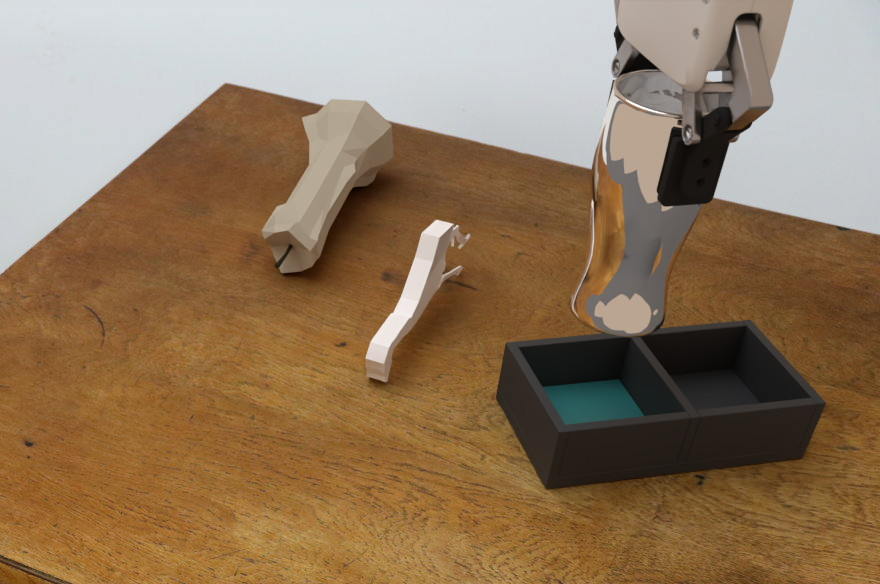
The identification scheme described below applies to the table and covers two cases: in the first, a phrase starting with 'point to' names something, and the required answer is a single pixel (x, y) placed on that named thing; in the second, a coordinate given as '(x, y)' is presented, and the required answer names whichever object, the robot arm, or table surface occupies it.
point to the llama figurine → (414, 295)
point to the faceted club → (328, 179)
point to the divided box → (655, 403)
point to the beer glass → (633, 209)
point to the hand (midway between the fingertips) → (653, 168)
